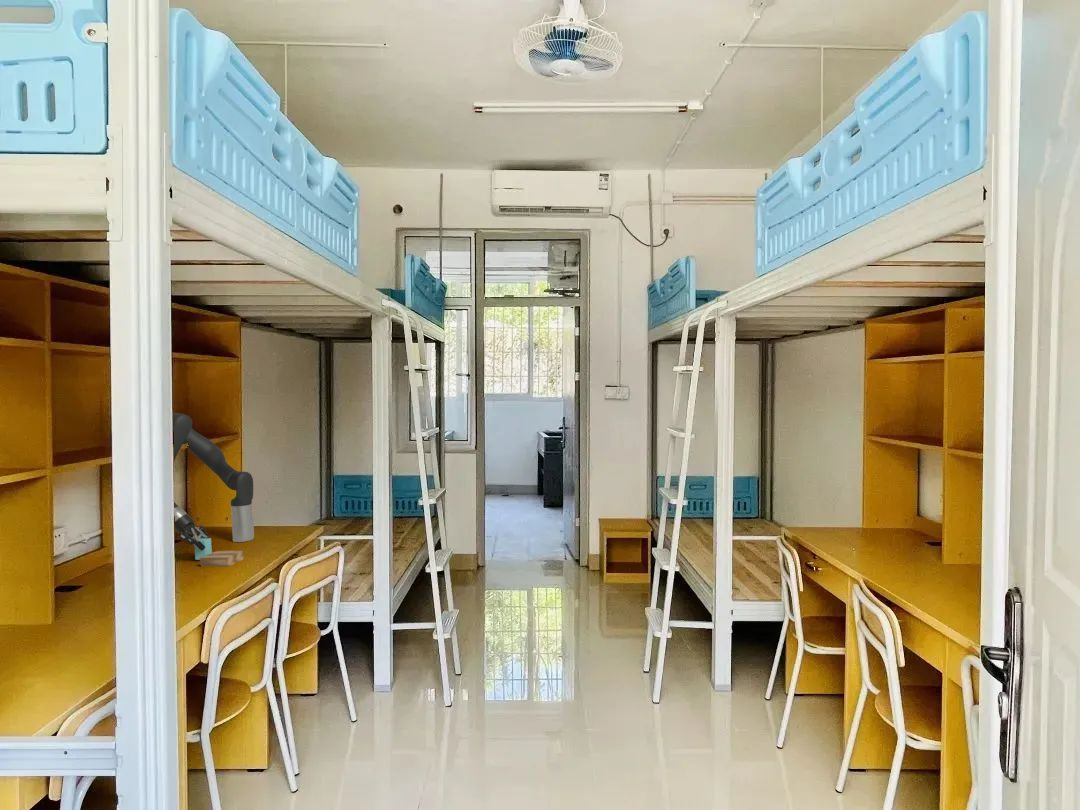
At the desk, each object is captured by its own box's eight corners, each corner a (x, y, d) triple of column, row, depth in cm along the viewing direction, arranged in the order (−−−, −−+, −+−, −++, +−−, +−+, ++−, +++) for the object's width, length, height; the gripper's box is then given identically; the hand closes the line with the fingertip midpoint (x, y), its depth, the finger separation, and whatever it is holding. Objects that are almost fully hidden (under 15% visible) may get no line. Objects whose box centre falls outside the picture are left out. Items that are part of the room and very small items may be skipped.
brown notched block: (217, 560, 286) (217, 550, 286) (243, 559, 285) (243, 550, 285) (200, 567, 274) (200, 558, 274) (227, 567, 273) (227, 557, 273)
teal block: (202, 556, 287) (201, 538, 287) (212, 556, 287) (211, 538, 287) (195, 559, 283) (194, 541, 283) (205, 559, 282) (204, 541, 282)
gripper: (174, 517, 278) (202, 545, 277) (195, 510, 292) (222, 537, 291) (162, 529, 279) (191, 558, 278) (184, 522, 293) (212, 549, 292)
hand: (207, 547), depth 285 cm, fingers closed on teal block, 4 cm apart
